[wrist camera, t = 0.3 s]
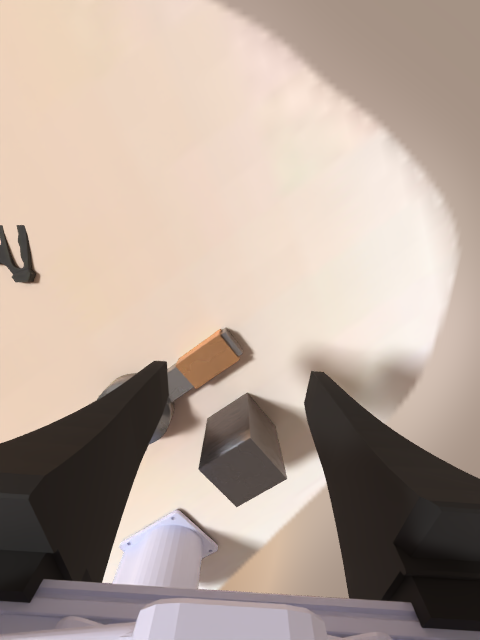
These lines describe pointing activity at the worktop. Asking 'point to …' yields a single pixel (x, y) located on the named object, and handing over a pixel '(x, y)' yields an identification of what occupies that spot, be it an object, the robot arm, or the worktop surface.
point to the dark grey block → (242, 451)
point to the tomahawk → (3, 256)
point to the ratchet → (192, 371)
